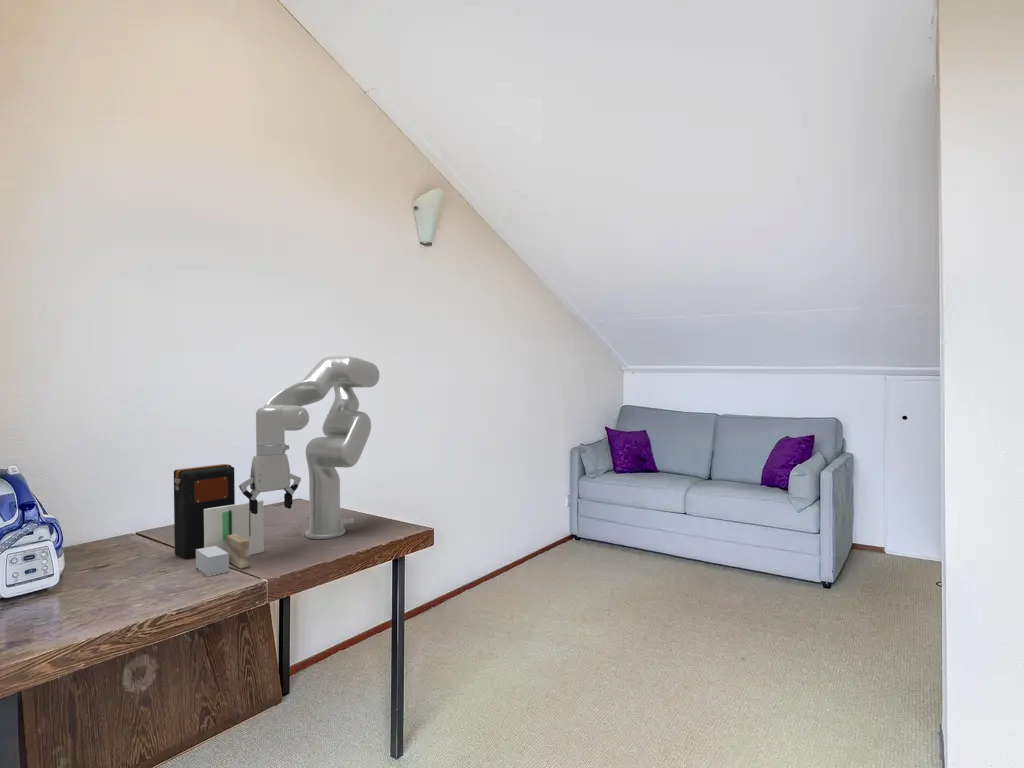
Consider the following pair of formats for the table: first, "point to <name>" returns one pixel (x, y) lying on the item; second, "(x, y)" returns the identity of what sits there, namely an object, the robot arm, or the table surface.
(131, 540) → the table surface
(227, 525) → the white board with blocks
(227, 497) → the voltmeter
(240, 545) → the tall beige wooden block
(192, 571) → the table surface
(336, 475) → the robot arm
